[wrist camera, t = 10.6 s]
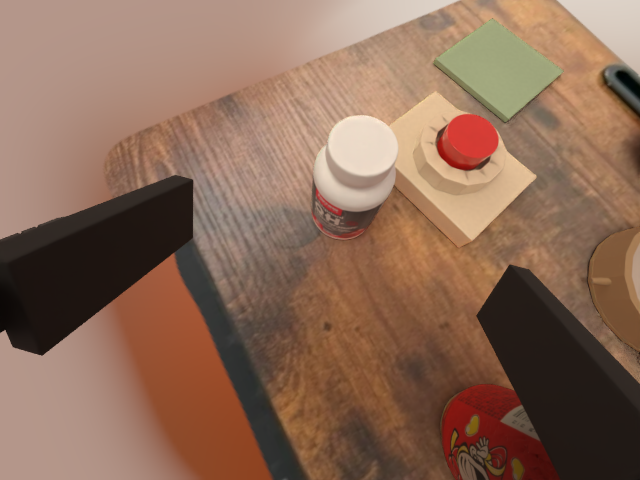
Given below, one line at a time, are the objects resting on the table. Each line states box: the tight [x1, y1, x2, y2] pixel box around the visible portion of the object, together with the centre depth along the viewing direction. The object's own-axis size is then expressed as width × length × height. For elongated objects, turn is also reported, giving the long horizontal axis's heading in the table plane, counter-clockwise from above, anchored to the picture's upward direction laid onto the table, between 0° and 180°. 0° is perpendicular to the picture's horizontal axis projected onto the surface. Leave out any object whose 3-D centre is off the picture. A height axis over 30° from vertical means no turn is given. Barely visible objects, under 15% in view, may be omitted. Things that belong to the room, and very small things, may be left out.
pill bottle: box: [311, 115, 398, 240], centre depth 20 cm, size 5×5×10 cm
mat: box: [433, 18, 564, 123], centre depth 30 cm, size 10×10×1 cm
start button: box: [437, 114, 499, 170], centre depth 22 cm, size 4×4×2 cm
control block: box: [389, 91, 537, 248], centre depth 24 cm, size 12×9×4 cm
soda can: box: [440, 384, 560, 480], centre depth 14 cm, size 7×7×12 cm
